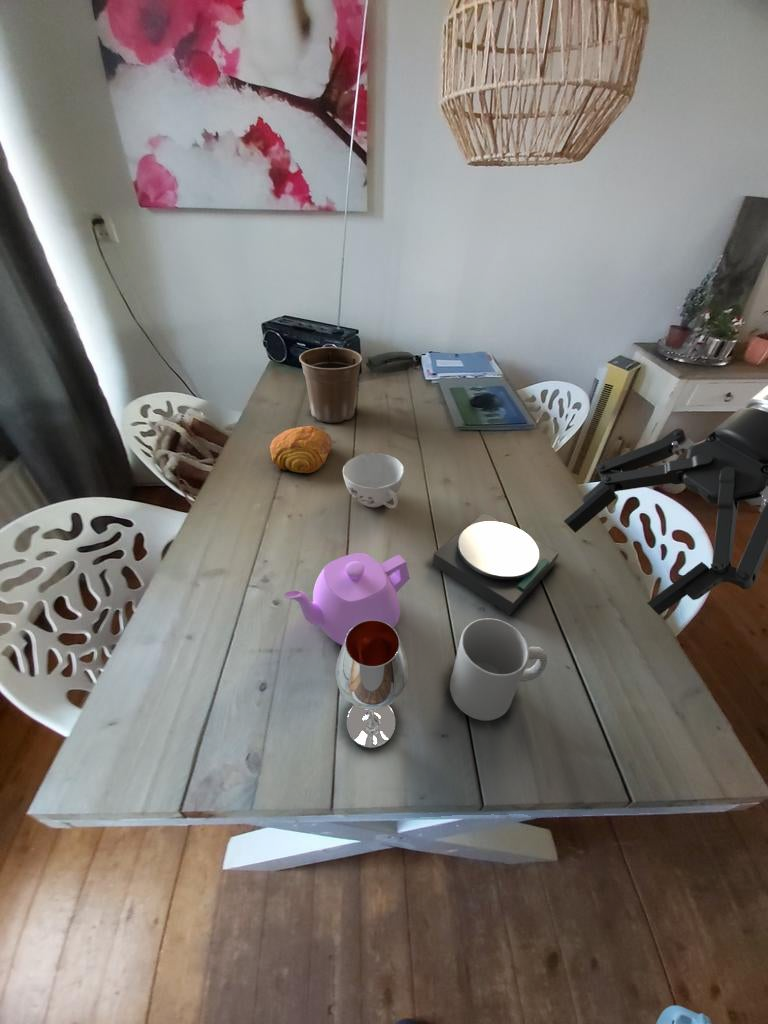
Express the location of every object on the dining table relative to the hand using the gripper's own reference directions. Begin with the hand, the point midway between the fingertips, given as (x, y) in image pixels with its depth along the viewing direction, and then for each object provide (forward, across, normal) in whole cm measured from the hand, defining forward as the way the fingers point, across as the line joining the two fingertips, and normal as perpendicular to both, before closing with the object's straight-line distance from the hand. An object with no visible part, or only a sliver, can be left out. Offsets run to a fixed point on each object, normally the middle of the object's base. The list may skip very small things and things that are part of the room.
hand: (606, 564), depth 51 cm
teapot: (+34, +18, +3) cm, 38 cm away
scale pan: (+11, +21, -14) cm, 28 cm away
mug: (+23, 0, -8) cm, 24 cm away
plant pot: (+23, +88, -8) cm, 91 cm away
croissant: (+32, +67, +1) cm, 75 cm away
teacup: (+24, +45, -7) cm, 52 cm away
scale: (+14, +21, -17) cm, 30 cm away
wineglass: (+35, +1, +5) cm, 36 cm away
